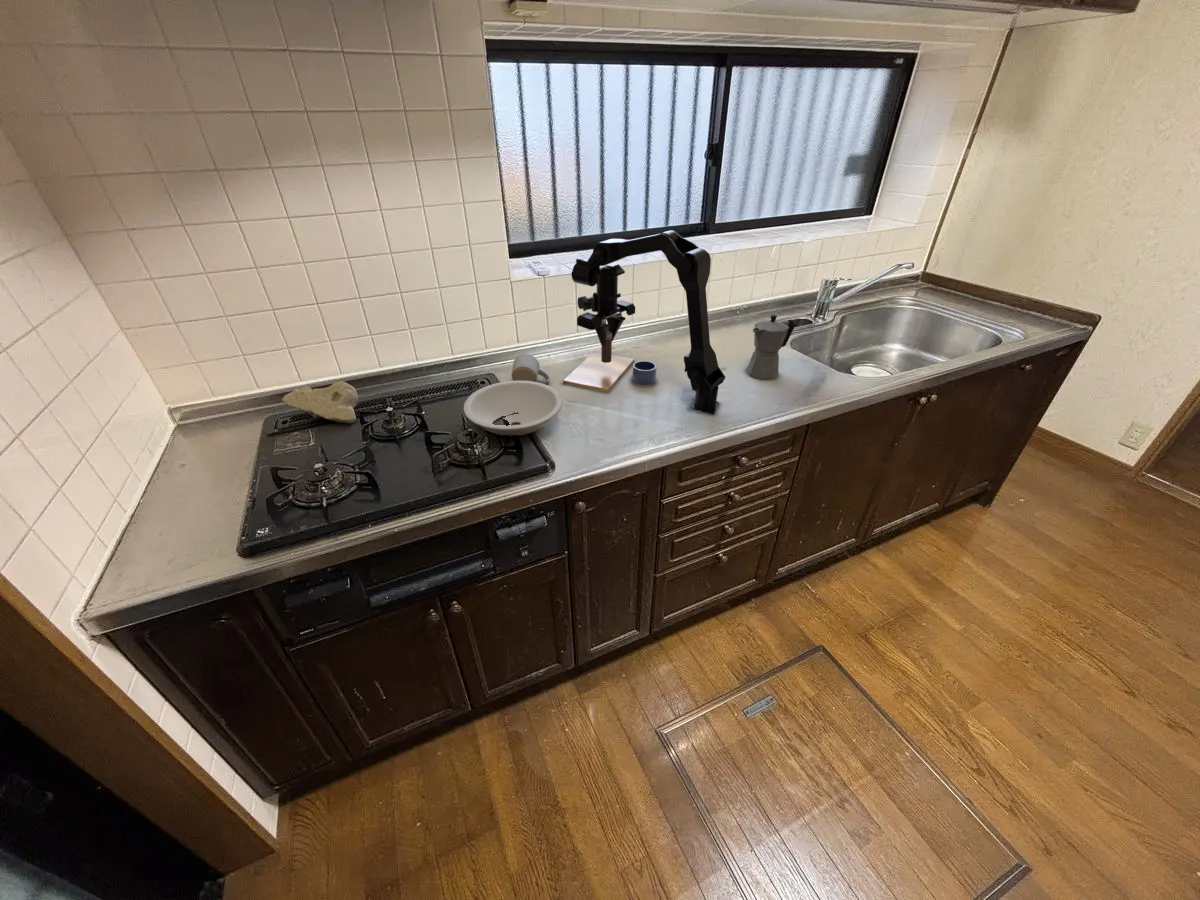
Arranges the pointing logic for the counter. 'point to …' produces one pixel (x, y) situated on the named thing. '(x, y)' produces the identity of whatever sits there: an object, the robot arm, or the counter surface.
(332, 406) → the beige irregular pointed piece
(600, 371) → the bamboo board
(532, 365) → the ceramic mug
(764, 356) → the coffeepot
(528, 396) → the soup bowl
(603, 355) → the pepper mill
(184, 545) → the counter surface
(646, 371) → the holder cup
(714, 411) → the robot arm
